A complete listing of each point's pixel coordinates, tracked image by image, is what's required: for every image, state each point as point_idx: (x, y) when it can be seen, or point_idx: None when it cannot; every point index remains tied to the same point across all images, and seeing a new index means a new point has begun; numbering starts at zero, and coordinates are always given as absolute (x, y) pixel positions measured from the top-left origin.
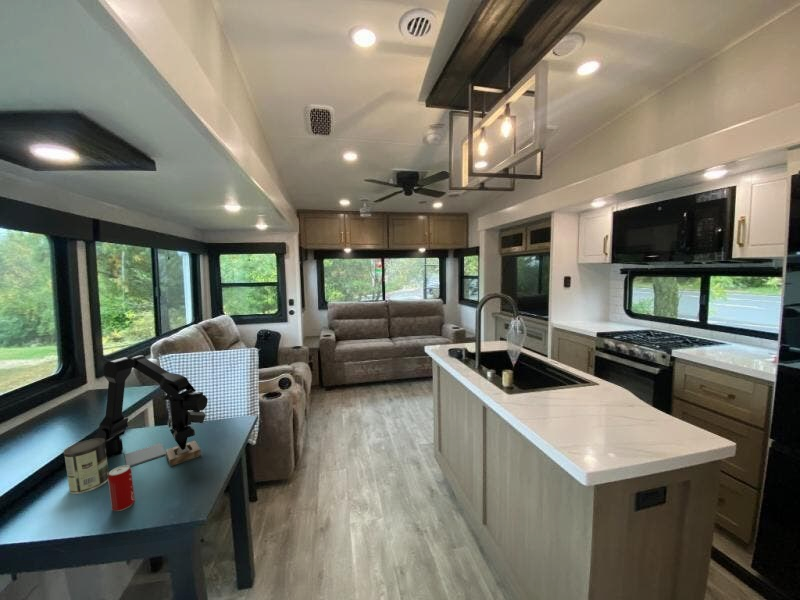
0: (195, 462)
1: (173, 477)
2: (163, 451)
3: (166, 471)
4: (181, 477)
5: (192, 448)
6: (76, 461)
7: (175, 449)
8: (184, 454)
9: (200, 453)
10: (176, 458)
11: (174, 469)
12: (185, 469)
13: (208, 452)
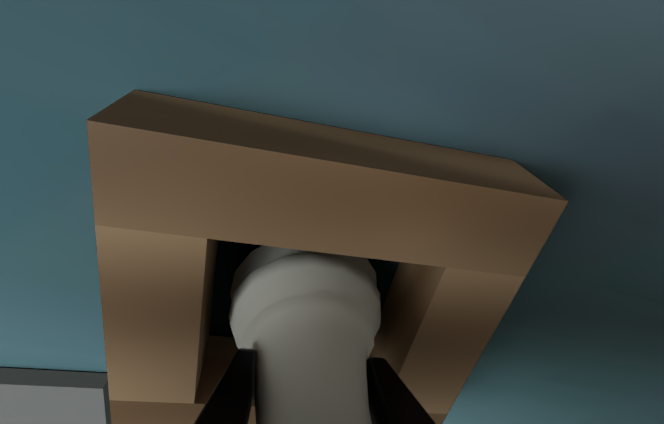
0: (582, 252)
1: (590, 402)
2: (15, 393)
3: (453, 414)
4: (655, 375)
5: (406, 259)
6: None
7: (196, 382)
8: (469, 360)
9: (526, 176)
10: (443, 407)
11: (489, 380)
12: (589, 335)
13: (545, 58)
